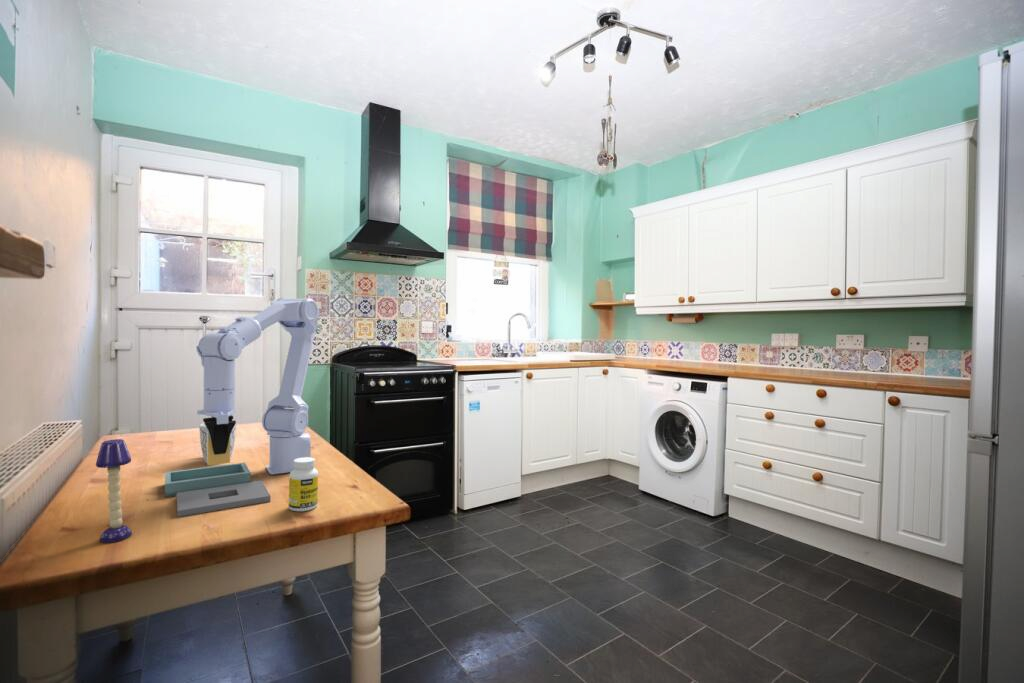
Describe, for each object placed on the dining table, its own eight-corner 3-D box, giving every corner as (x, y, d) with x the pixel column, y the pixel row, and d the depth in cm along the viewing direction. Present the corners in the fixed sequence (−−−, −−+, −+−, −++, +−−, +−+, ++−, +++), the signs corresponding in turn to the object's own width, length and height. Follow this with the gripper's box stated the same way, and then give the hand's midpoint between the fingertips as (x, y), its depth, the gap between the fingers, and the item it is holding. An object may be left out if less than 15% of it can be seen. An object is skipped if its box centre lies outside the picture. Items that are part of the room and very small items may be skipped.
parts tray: (244, 473, 120) (244, 462, 120) (250, 484, 112) (250, 472, 112) (165, 484, 111) (165, 472, 111) (164, 497, 103) (165, 484, 103)
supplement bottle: (299, 514, 95) (300, 464, 95) (283, 508, 98) (283, 460, 98) (323, 506, 100) (324, 458, 100) (307, 500, 103) (307, 454, 102)
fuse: (228, 459, 107) (228, 427, 107) (229, 462, 105) (229, 430, 104) (206, 461, 105) (207, 429, 104) (207, 465, 102) (208, 432, 102)
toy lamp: (92, 545, 80) (92, 444, 80) (100, 534, 84) (100, 438, 84) (128, 540, 82) (128, 442, 82) (134, 529, 86) (135, 436, 86)
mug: (188, 459, 132) (188, 422, 131) (221, 453, 139) (221, 418, 138) (208, 466, 125) (208, 428, 125) (241, 460, 132) (242, 423, 132)
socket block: (261, 485, 112) (261, 480, 111) (270, 501, 102) (270, 495, 102) (176, 498, 102) (176, 492, 102) (177, 517, 92) (177, 510, 92)
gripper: (195, 386, 108) (195, 447, 108) (199, 394, 96) (199, 462, 96) (231, 384, 112) (231, 443, 112) (240, 392, 100) (239, 457, 101)
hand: (219, 451), depth 105 cm, fingers closed on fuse, 3 cm apart
